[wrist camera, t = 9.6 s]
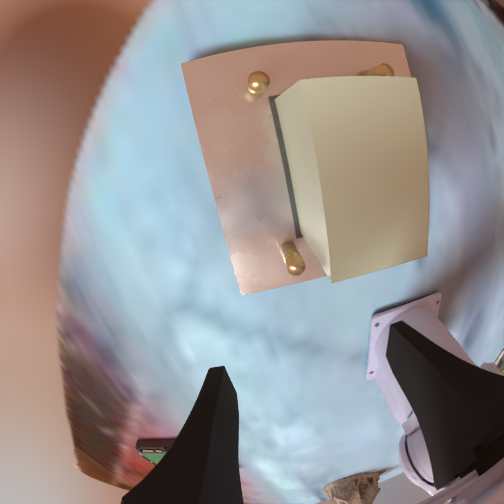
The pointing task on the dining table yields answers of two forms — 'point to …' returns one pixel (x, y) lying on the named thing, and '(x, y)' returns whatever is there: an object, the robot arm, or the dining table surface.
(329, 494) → the ceramic cottage
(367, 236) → the block
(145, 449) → the disk drive
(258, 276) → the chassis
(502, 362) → the coffee can
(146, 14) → the dining table surface
